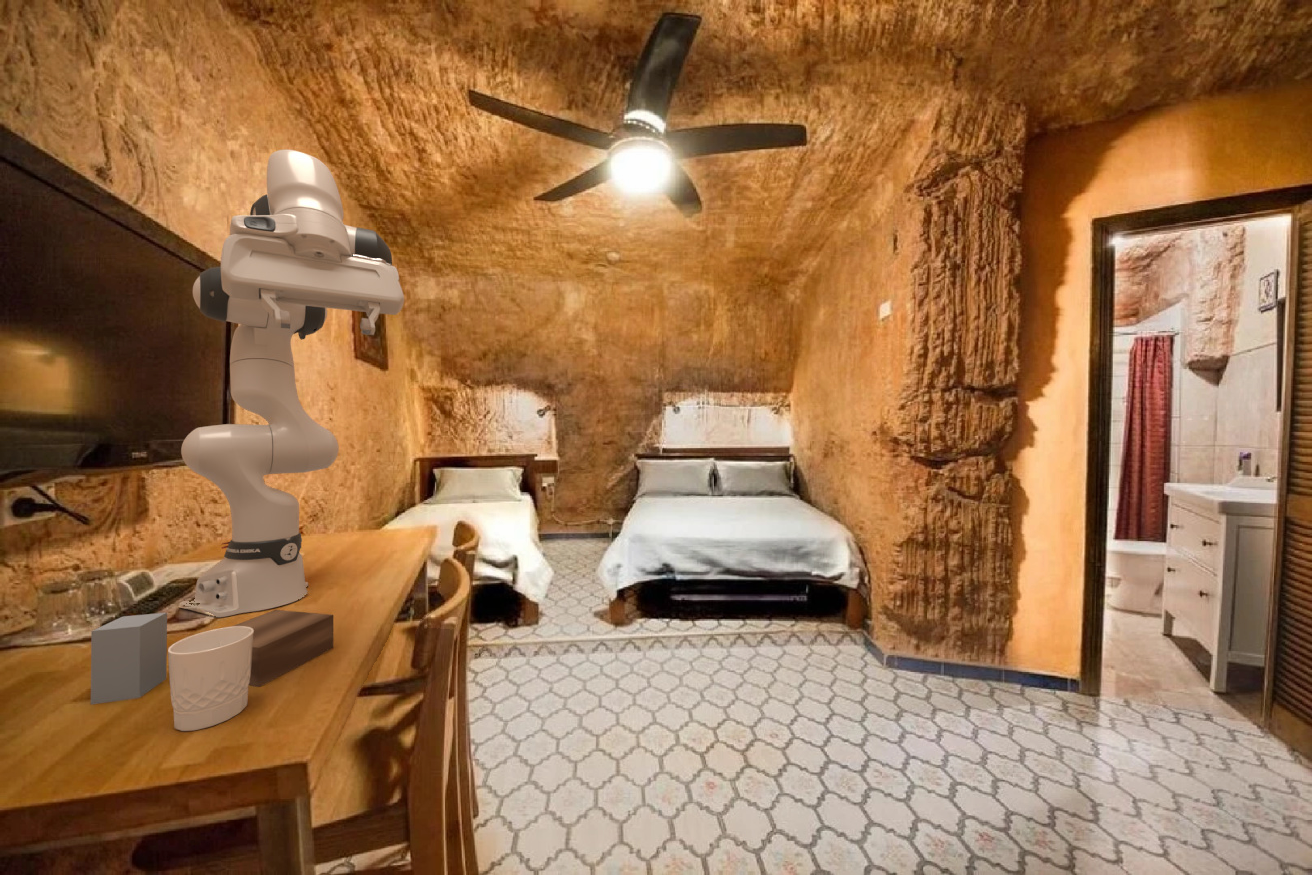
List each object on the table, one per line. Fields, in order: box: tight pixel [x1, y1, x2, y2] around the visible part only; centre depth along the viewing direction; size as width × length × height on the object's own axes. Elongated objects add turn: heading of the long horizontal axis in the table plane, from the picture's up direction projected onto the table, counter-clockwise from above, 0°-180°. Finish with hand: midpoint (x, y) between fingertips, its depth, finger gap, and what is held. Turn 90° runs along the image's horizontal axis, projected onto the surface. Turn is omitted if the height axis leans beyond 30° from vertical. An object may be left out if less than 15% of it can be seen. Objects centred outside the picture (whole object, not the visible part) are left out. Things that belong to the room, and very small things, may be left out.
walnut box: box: [230, 609, 335, 688], centre depth 70 cm, size 12×12×6 cm
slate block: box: [90, 612, 168, 705], centre depth 62 cm, size 5×5×10 cm
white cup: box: [167, 625, 254, 732], centre depth 57 cm, size 8×8×10 cm
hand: (328, 329), depth 60 cm, fingers open, 8 cm apart
